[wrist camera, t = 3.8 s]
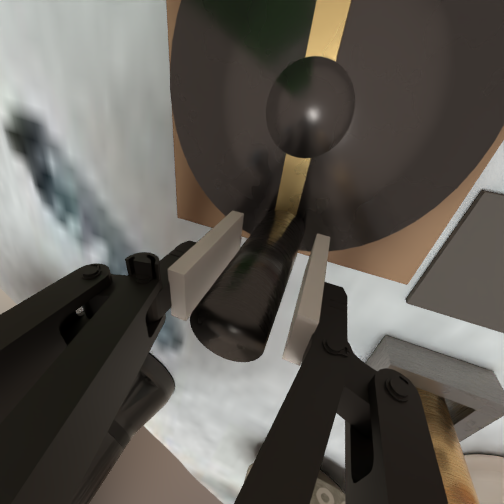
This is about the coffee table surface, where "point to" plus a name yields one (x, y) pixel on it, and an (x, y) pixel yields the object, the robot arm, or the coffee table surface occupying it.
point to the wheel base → (359, 258)
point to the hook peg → (448, 450)
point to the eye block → (446, 382)
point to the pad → (469, 268)
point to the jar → (487, 477)
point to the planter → (323, 490)
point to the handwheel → (326, 129)
